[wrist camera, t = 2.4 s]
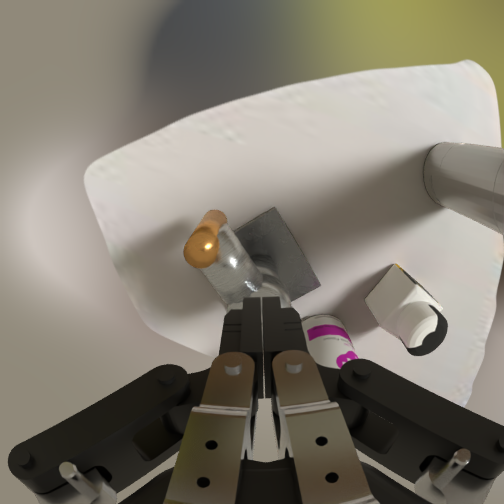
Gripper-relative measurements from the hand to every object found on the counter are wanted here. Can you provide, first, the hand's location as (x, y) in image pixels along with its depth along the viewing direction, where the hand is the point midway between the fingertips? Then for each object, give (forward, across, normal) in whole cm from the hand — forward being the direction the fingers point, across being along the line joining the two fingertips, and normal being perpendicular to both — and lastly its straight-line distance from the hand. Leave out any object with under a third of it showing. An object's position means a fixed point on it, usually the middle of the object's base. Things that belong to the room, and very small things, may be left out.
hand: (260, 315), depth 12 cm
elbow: (+20, +2, +6) cm, 21 cm away
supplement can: (+25, -9, +20) cm, 33 cm away
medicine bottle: (+25, -20, +14) cm, 35 cm away
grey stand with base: (+25, 0, +9) cm, 26 cm away
